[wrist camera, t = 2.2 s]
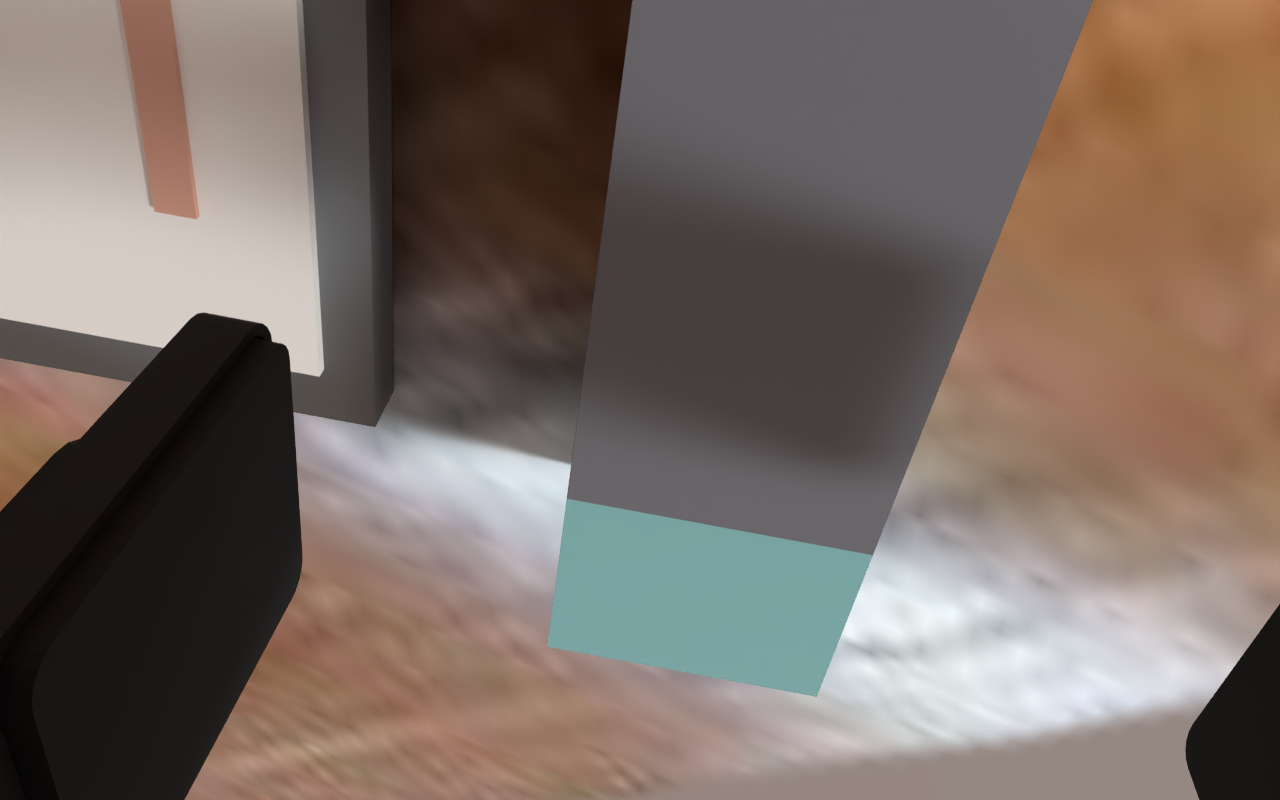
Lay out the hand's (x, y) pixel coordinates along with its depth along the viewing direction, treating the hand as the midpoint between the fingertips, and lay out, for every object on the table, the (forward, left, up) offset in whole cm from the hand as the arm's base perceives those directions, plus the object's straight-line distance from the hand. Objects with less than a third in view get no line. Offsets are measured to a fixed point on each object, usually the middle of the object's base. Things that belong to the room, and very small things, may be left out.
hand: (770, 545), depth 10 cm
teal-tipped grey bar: (-1, 0, -7) cm, 7 cm away
